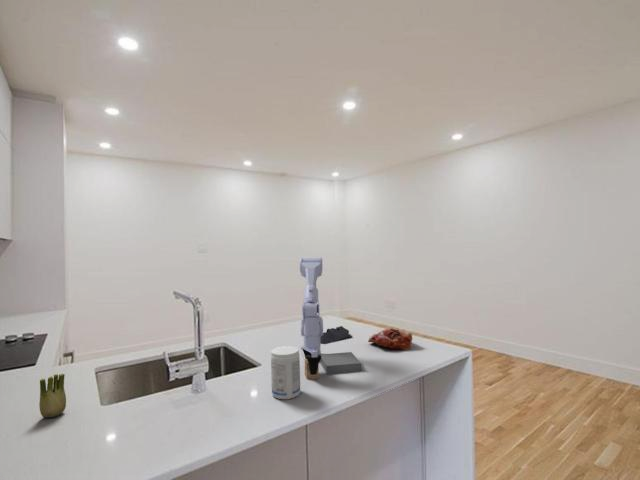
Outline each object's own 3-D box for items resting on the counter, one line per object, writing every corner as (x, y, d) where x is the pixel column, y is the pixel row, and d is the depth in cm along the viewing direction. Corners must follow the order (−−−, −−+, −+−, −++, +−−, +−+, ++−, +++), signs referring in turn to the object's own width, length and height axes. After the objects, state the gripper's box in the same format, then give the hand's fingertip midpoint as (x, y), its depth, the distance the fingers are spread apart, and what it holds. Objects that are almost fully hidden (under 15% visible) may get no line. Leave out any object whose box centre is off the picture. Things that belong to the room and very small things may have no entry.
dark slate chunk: (305, 339, 180) (305, 330, 180) (337, 332, 193) (337, 324, 193) (323, 346, 168) (323, 336, 168) (355, 338, 181) (355, 329, 181)
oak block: (304, 374, 130) (304, 359, 130) (316, 373, 131) (316, 358, 131) (306, 379, 126) (306, 363, 126) (318, 378, 126) (318, 362, 126)
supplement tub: (294, 385, 120) (293, 344, 120) (304, 396, 111) (304, 351, 111) (267, 391, 115) (267, 348, 116) (276, 403, 107) (276, 356, 107)
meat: (359, 343, 170) (358, 323, 171) (393, 337, 180) (392, 318, 180) (384, 355, 152) (384, 332, 152) (420, 348, 161) (420, 327, 161)
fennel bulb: (38, 421, 97) (38, 379, 98) (44, 414, 102) (44, 374, 102) (62, 417, 100) (62, 376, 100) (67, 410, 104) (67, 370, 104)
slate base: (319, 361, 144) (319, 354, 144) (351, 358, 147) (351, 352, 147) (326, 373, 130) (326, 366, 130) (361, 370, 133) (361, 363, 133)
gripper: (298, 330, 135) (298, 364, 134) (303, 340, 120) (304, 378, 120) (315, 329, 136) (316, 363, 136) (322, 339, 122) (323, 377, 122)
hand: (311, 370), depth 128 cm, fingers open, 7 cm apart
